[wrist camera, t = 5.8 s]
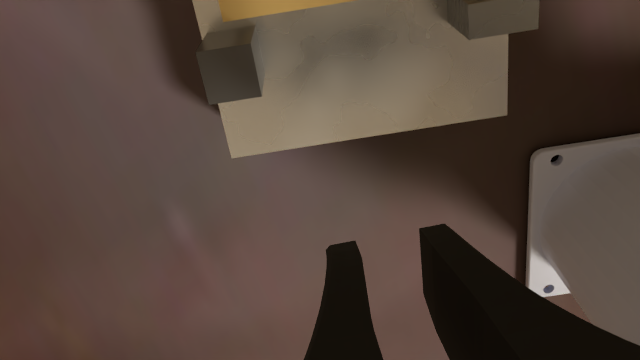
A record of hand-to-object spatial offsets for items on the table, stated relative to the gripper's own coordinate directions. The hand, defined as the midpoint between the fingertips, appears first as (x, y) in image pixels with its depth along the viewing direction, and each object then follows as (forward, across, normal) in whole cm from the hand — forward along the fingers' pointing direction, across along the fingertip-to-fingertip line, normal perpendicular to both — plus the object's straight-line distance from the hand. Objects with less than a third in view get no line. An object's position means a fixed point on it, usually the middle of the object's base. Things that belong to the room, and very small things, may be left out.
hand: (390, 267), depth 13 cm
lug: (+8, +3, -4) cm, 9 cm away
